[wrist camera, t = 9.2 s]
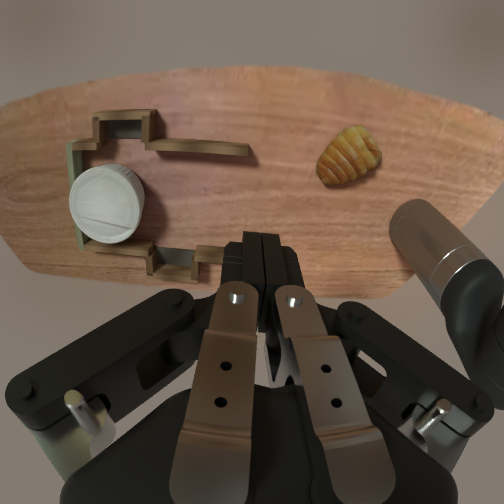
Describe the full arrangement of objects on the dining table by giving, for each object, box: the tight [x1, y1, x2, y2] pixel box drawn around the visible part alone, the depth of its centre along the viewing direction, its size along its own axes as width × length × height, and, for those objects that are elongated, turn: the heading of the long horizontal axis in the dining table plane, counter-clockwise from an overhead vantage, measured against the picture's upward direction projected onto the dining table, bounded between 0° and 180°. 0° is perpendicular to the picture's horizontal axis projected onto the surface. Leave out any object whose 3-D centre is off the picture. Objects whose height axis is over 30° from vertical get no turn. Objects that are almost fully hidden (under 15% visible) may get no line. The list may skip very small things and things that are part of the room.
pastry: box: [316, 125, 382, 185], centre depth 38 cm, size 9×7×4 cm
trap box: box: [66, 109, 249, 283], centre depth 41 cm, size 25×25×3 cm
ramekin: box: [69, 164, 145, 243], centre depth 39 cm, size 11×11×5 cm
